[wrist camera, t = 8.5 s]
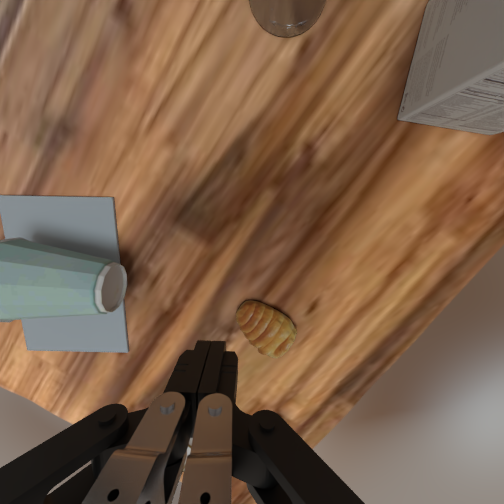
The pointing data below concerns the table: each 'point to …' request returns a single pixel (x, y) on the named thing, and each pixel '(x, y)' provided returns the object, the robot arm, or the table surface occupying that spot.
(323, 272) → the table surface
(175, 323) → the table surface
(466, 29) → the supplement box
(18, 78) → the table surface
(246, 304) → the pastry
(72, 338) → the mat
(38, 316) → the disposable coffee cup
